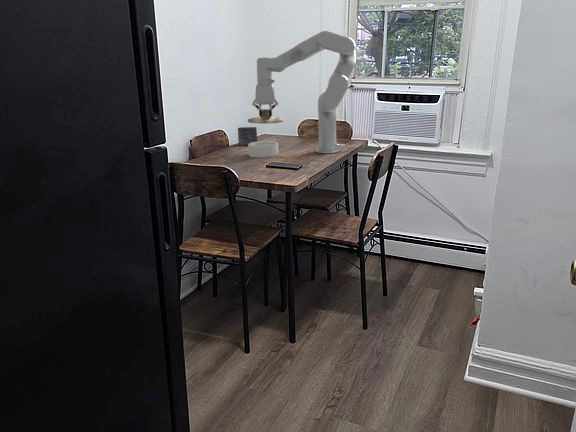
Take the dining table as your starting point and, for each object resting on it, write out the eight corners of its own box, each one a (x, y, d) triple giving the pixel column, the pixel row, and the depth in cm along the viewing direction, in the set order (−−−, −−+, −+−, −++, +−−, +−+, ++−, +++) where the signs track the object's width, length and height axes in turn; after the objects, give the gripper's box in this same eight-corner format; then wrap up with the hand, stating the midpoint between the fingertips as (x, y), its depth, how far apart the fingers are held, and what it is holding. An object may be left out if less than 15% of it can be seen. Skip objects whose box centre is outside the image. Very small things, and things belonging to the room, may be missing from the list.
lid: (283, 118, 284) (282, 107, 282) (283, 123, 266) (283, 111, 264) (248, 119, 283) (248, 108, 281) (247, 123, 265) (246, 112, 263)
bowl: (277, 151, 285) (277, 140, 283) (278, 157, 270) (278, 145, 268) (249, 152, 285) (248, 141, 283) (248, 158, 269) (247, 147, 268)
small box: (257, 144, 310) (256, 126, 307) (256, 146, 304) (255, 128, 301) (240, 144, 311) (239, 126, 308) (238, 146, 305) (237, 128, 302)
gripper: (280, 81, 272) (281, 116, 277) (248, 82, 271) (250, 117, 277) (280, 82, 265) (281, 118, 270) (248, 83, 264) (249, 118, 270)
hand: (265, 117), depth 274 cm, fingers closed on lid, 4 cm apart
